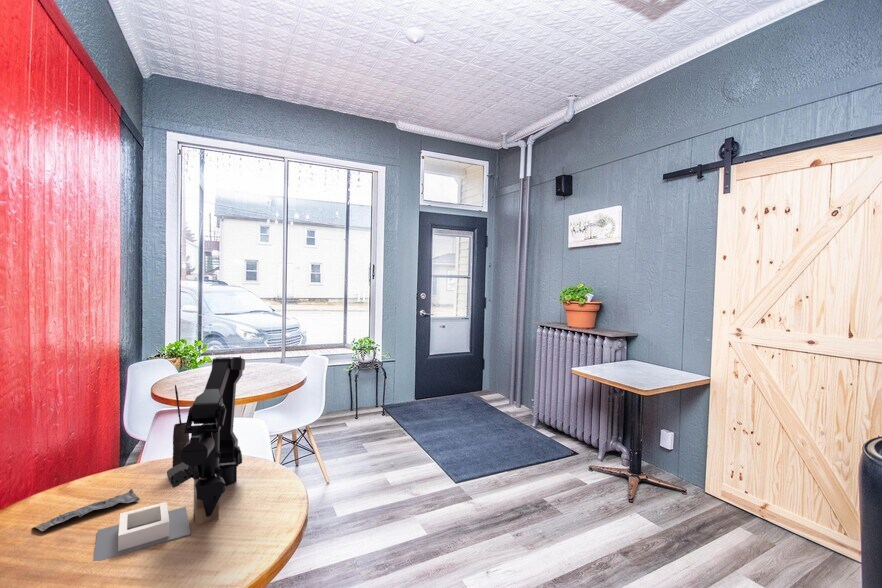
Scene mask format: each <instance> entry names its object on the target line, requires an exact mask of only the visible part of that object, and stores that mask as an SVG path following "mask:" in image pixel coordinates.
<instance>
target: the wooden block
mask: <svg viewBox="0 0 882 588" xmlns="http://www.w3.org/2000/svg"><path fill="white" fill-rule="evenodd" d="M215 476H216V474H215ZM216 477H217V476H216ZM200 480H204V478H202V479H195V480H194V479H193V518H194V522H195V526H199V525H203V524H206V523H209V522H214V521H217V520H219V518H220V517H219V516H220V513H219V512H220V509H219V508H220V500H219V501H218V503H217V504H216V507H215V509H214V511H213V513H212V515H211V516H209V517H206V514H205V509H204V505H203V501H202V500H198V499H196V495H195V485H196V484H197V483H198V482H199V481H200Z"/></svg>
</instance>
